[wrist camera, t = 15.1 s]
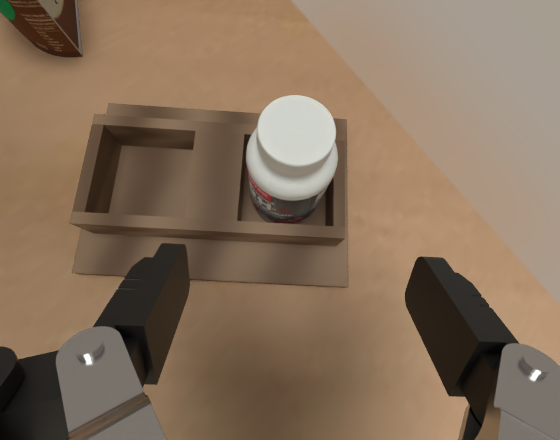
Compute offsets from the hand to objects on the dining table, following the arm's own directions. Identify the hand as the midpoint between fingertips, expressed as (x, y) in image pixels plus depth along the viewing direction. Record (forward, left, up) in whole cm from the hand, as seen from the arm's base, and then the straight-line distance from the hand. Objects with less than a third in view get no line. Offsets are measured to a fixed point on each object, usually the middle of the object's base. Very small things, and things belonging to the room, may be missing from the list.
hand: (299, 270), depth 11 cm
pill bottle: (0, +7, -13) cm, 15 cm away
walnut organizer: (-5, +7, -13) cm, 16 cm away
